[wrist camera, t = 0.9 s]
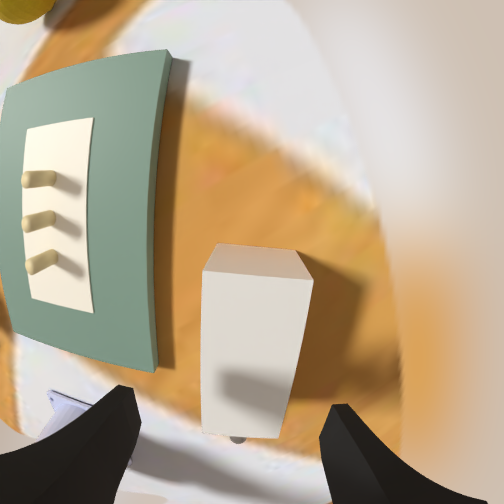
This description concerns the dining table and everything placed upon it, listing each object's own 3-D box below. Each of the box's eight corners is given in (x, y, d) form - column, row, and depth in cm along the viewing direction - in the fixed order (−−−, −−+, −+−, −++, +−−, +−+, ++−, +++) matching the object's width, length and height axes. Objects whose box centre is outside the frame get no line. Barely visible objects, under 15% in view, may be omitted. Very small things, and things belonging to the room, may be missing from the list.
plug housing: (266, 418, 19) (269, 467, 14) (210, 413, 19) (203, 462, 14) (295, 250, 16) (313, 280, 11) (217, 242, 16) (202, 270, 11)
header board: (158, 363, 18) (143, 396, 14) (21, 325, 17) (-3, 344, 14) (172, 57, 13) (153, 29, 9) (16, 90, 13) (-14, 83, 9)
